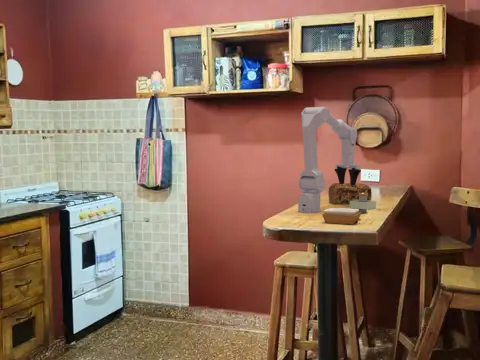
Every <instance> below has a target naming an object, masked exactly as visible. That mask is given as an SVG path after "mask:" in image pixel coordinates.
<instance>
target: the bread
mask: <svg viewBox="0 0 480 360" xmlns="http://www.w3.org/2000/svg"><path fill="white" fill-rule="evenodd" d="M327 193H328V202H329V204H332V205H338V204H342V205H350V201H354V200H359V193H368V195H367V200H370V201H372V193H373V192H372V188H371V187H370V185H367V184H366V183H357V182H356V184H355V185H351V184H350V182H344V184H339V182H334V183H332V184H331V185H330V186H329V187H328V192H327Z"/></svg>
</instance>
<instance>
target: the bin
mask: <svg viewBox="0 0 480 360" xmlns="http://www.w3.org/2000/svg"><path fill="white" fill-rule="evenodd" d="M350 208H357V209H367V211H370V210H374V209H376V208H377V201H376V200H371V201H370V200H367V202H359V200H354V201H350V204H349V209H350Z"/></svg>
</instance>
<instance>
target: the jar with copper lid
mask: <svg viewBox="0 0 480 360" xmlns="http://www.w3.org/2000/svg"><path fill="white" fill-rule="evenodd" d="M367 195H368V193H359V202H367Z"/></svg>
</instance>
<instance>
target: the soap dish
mask: <svg viewBox="0 0 480 360" xmlns="http://www.w3.org/2000/svg"><path fill="white" fill-rule="evenodd" d="M323 212H324V213H322V214H321V216H322V218H323V220H324V222H325V223H326V224H338V225H339V224H341V225H342V224H343V225H354V224H356V223H358V222H359V221H358V220H359V219H360V217H361V215H362V214H361V212H359V209H350V207H349V208H348V207H347V208H346V207H345V208H344V207H343V208H342V207H329V208H327V209H324V211H323Z"/></svg>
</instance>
